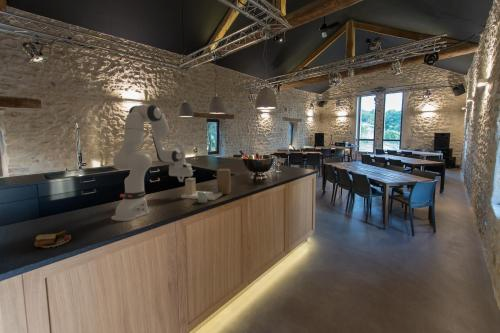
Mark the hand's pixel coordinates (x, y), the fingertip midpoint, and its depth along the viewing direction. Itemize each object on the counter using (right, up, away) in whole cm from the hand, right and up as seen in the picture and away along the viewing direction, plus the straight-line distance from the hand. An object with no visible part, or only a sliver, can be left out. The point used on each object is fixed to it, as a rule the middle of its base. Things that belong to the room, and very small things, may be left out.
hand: (181, 181), depth 201 cm
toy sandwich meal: (-36, -24, -85) cm, 96 cm away
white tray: (+18, -12, -3) cm, 21 cm away
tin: (+29, -9, -2) cm, 30 cm away
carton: (+8, -9, -1) cm, 12 cm away
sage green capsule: (+21, -14, -18) cm, 31 cm away
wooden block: (+34, -10, +7) cm, 37 cm away
